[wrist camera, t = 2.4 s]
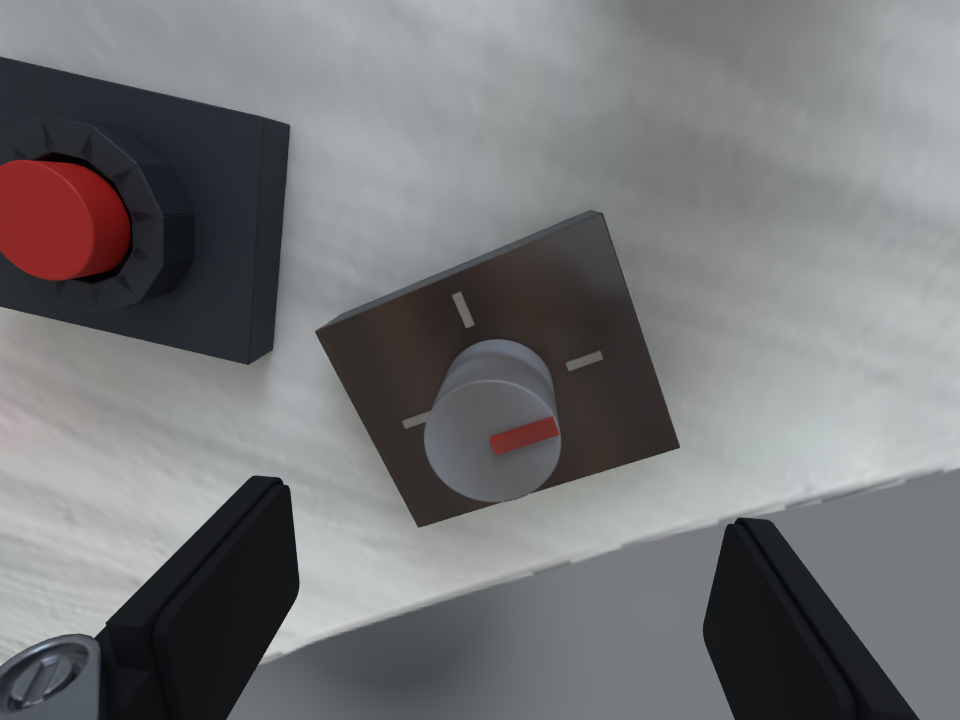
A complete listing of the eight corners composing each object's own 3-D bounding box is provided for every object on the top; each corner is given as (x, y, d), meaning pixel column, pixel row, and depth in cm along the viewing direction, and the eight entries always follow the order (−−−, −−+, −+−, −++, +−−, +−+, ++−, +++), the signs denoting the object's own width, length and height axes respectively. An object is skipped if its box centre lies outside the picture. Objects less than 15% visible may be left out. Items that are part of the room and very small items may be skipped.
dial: (470, 452, 21) (455, 524, 16) (427, 361, 20) (398, 411, 15) (568, 419, 20) (581, 486, 15) (529, 322, 19) (531, 363, 14)
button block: (31, 293, 24) (-63, 312, 20) (9, 60, 20) (-110, 29, 16) (273, 350, 23) (224, 380, 20) (290, 124, 20) (236, 109, 16)
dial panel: (430, 490, 25) (417, 530, 22) (340, 314, 23) (312, 332, 20) (661, 416, 23) (682, 450, 20) (591, 209, 20) (603, 212, 17)
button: (34, 260, 19) (-13, 266, 17) (23, 151, 18) (-28, 147, 16) (133, 283, 19) (96, 292, 17) (130, 176, 18) (90, 174, 16)
